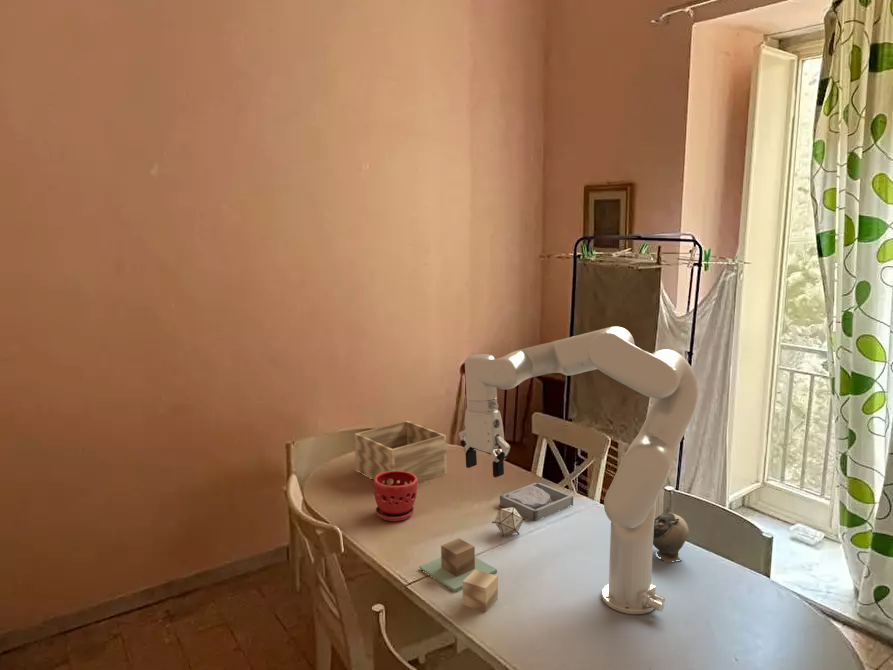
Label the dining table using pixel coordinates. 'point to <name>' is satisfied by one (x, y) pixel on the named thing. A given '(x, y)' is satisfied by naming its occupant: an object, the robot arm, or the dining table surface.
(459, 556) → the walnut cube
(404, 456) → the wooden crate
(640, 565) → the robot arm
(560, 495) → the slate tray
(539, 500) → the stone block
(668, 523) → the brown round clay figure
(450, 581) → the mat
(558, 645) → the dining table surface
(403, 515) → the plant pot
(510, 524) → the game die
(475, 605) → the oak cube
